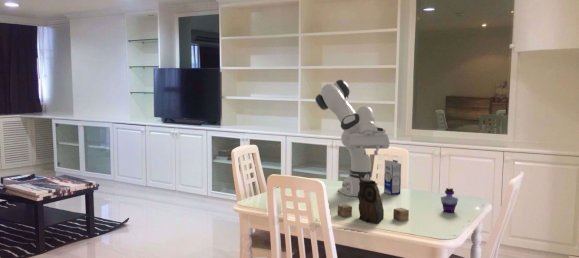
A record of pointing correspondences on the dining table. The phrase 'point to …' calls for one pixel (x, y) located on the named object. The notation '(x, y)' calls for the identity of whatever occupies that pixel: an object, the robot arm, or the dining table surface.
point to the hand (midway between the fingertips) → (370, 154)
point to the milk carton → (392, 177)
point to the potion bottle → (449, 201)
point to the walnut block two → (401, 214)
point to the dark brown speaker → (370, 202)
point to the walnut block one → (344, 210)
